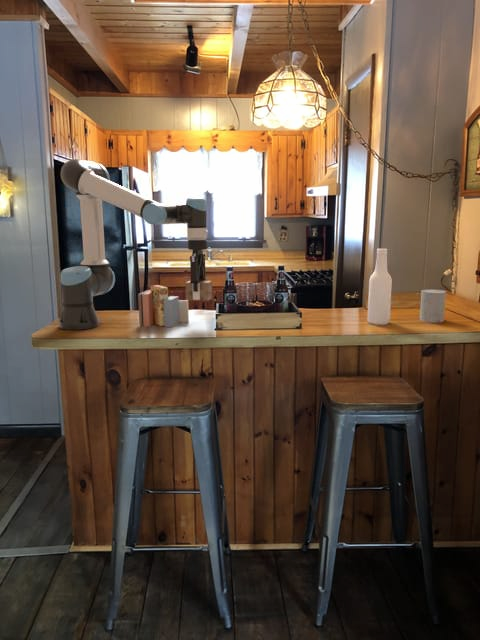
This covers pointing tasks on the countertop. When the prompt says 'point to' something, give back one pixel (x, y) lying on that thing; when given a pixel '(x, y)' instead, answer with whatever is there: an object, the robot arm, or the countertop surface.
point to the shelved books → (169, 310)
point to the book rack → (182, 310)
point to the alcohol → (380, 291)
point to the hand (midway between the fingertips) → (198, 298)
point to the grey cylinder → (432, 305)
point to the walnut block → (204, 290)
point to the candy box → (159, 303)
